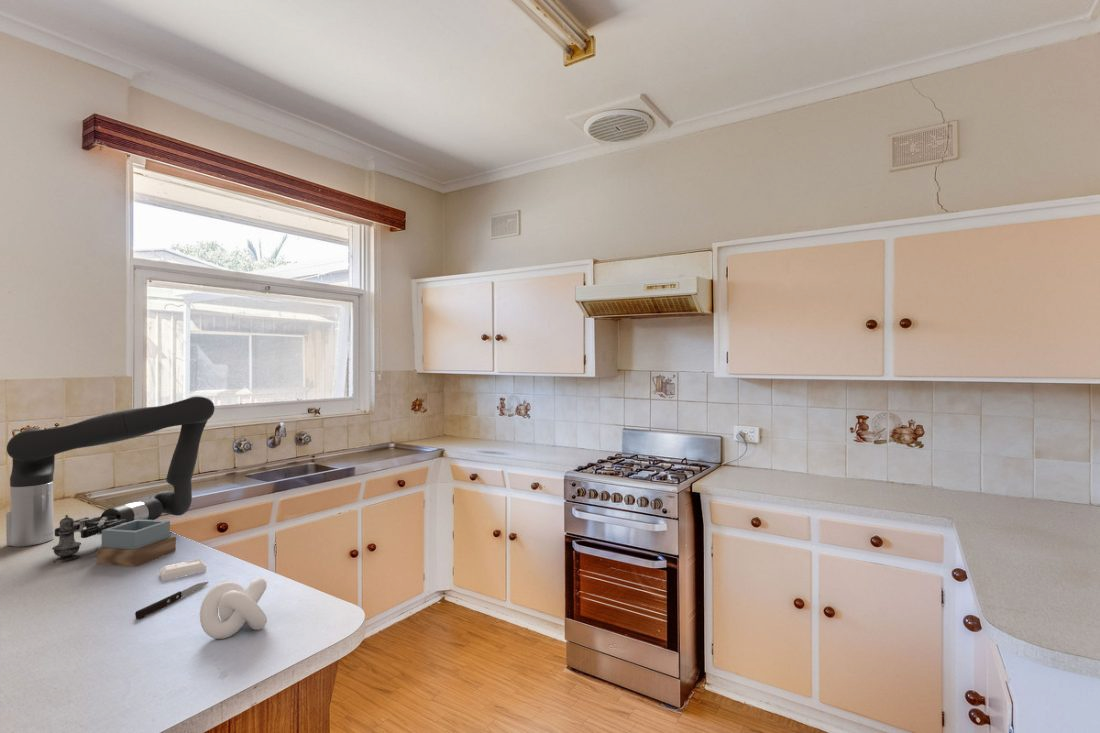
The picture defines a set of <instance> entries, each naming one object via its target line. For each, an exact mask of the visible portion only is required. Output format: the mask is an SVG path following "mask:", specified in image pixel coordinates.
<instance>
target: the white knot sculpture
mask: <svg viewBox="0 0 1100 733" xmlns="http://www.w3.org/2000/svg"><path fill="white" fill-rule="evenodd" d="M267 585H268V584H267V580H265V579H264V578H262V577H257V578H254V580H252V581H250V583H249V584H248V586H247V587H246V589H245V588H244V587H243V586H242V585H240V584H239V583H237V582H234V581H224V582H220V583H218V584H217V585H215V586H213V587H212V588H211V589H210V590H209V591H208V592H207V593H206V595H205V597H204V599H203V600H202V602H201V605H200V609H199V622H200V626H201V628H202V631H203V632H204V633H205V634H206V635H207V636H209V637H210V638H212V639H216V640H221V639H222V640H224V639H227V638H230V637H233V635H235V634H236V633H237V632H239V631H240V629H241V628H242V627H243V625H245V623H246V624H248V626H249V627H250V628H251V629H253V630H254V631H255V630H256V631H259V630H261V629H263V628H265V626H266V624H267V622H268V617H267V615H266V613H265V612H264V610H263V609H262V608H261V607H260V606H259V604H258V603H259V601H260V600H261V598H262V596H263V595H264V593H265V591H267V590H266V589H267Z"/></svg>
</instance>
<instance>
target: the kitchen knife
mask: <svg viewBox="0 0 1100 733" xmlns="http://www.w3.org/2000/svg"><path fill="white" fill-rule="evenodd" d="M207 584H209V581H205V582H200V583H196V584H194V585H191V586H189V587H187V588H186V589H183V590H181V591H177V592H175V593H173V594H170V595H169V596H167V597H165V598H162V599H159V600H158V601H156V602H153V603H152V604H149V605H147V606H145V607H142V608H141V609H139V610H137V611H135V613H134V616H135V619H136V620H138V619H139V620H141V618H142V619H143V618H145V617H146V616H148V615H150V614H153V613H157V612H158V611H160V610H162V609H164V608H166V607H168V606H170V605H171V604H173V603H175V602H177V601H178V600H180V599H182V598H184V597H186V596H189V595H190V594H192V593H194V592H196V591H198V590H200V589H203V587H205V586H206V585H207ZM195 590H196V591H195ZM193 591H194V592H193ZM189 593H190V594H189ZM185 595H186V596H185ZM183 596H184V597H183ZM181 597H182V598H181Z"/></svg>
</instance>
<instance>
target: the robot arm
mask: <svg viewBox="0 0 1100 733" xmlns="http://www.w3.org/2000/svg"><path fill="white" fill-rule="evenodd" d="M214 412H215V403H214V402H213V401H212V399H210V398H208V397H207V396H205V395H197V394H196V395H192V396H191V397H188V398H185V399H182V400H179V401H174V402H172V403H168V404H164V405H163V404H162V405H158V406H148V407H138V408H137V407H136V408H130V409H124V410H119V411H113V412H108V413H106V414H102V415H98V416H94V417H91V418H87V419H85V420H82V421H79V422H75V423H72V424H69V425H65V426H59V427H58V426H57V427H53V428H46V429H45V428H44V429H42V428H29V429H25V430H23V431H22V430H21V431H20V432H18V433H16V434H14V435H13V436H12V437H11V438H10V440H9V441H8V443H7V445H6V453H7V455H8V456H9V457H10V458H12V468H11V474H10V477H9V487H10V488H9V498H10V501H9V503H10V505H9V506H10V507H9V508H10V509H9V510H10V511H8V512H6V513H5V515H6V516H5V519H6V521H5V526H6V527H5V528H6V530H5V531H6V533H5V534H6V536H5V537H6V539H5V540H6V542H5V543H6V547H7V546H11V547H18V548H19V547H28V546H34V545H40V544H44V543H46V542H50V541H51V540H53V539H54V538H55V537H59V534H58V532H60V526H59V527H56V528H55V529H54V526H55V524H54V519H55V518H54V517H55V516H54V474H55V464H56V463H55V455H58V454H61V453H64V452H68V451H72V450H76V449H81V448H82V449H83V448H88V447H89V448H90V447H95V446H96V447H97V446H100V445H101V446H102V445H108V444H112V443H118V442H123V441H126V440H129V439H134V438H138V437H141V436H144V435H149V434H151V433H154V432H157V431H158V432H159V431H160V430H163V429H167V428H171V427H177V426H178V427H179V426H180V432H179V436H178V439H177V443H176V446H175V448H174V451H173V454H172V456H171V457H172V458H171V460H170V463H169V467H168V470H167V475H166V477H165V479H166V483H168V484H169V485H170V486H172V487H173V491H172V490H164V491H159V492H157V493H155V494H153V495H151V496H149V497H148V498H145V499H142V500H141V499H140V500H138V501H133V502H128V503H125V504H121V505H116V506H114V507H109V508H107V509H105V510H104V511H103V512H102V513H101V515H100V516H99V515H98V516H93V517H91V518H89V517H83V518H80V519H74V530H76V531H75V532H74V533H80V538H82V539H87V538H89V537H93V536H95V535H96V536H97V535H100V536H102V530H104V529H108V528H111V527H114V526H118V525H121V524H124V523H127V522H131V521H134V520H137V519H143V520H157V519H158V518H160V517H161V516H162V514H167V515H171V516H172V515H173V516H182V515H184V514H186V513H187V512H188V510H189V509H190V507H191V504H192V500H193V492H192V488H193V487H192V480H193V479H192V478H193V475H194V472H195V467H196V465H197V459H198V453H199V447H200V443H201V438H202V435H203V432H204V429H205V427H206V425H207V423H208V420H210V418H211V417H212V416H213V415H214Z"/></svg>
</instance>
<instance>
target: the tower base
mask: <svg viewBox="0 0 1100 733" xmlns="http://www.w3.org/2000/svg"><path fill="white" fill-rule="evenodd" d="M176 541H177V536H176V535H175V536H173V535H170V537H169V538H166V539H163V540H161V541H158V542H155V543H152V544H150V545H147V546H144V547H141V548H138V549H136V550H133V549H118V548H103V547H102V546H101V547H98V548H96V563H97V564H96V565H107V566H118V565H119V566H118V567H131V566H133V567H135V568H137V567H140V566H142V565H144V564H147V563H149V562H152V561H154V559H155V560H156V558H157V559H160V558H162V557H164V556H163V555H165V556H166V554H167V555H169V554H168V553H170V554H172V553H174V552H173V551H175V550H176V551H177V546H176V545H177V542H176ZM176 551H175V552H176ZM171 552H172V553H171ZM161 556H162V557H161ZM159 557H160V558H159Z"/></svg>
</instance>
